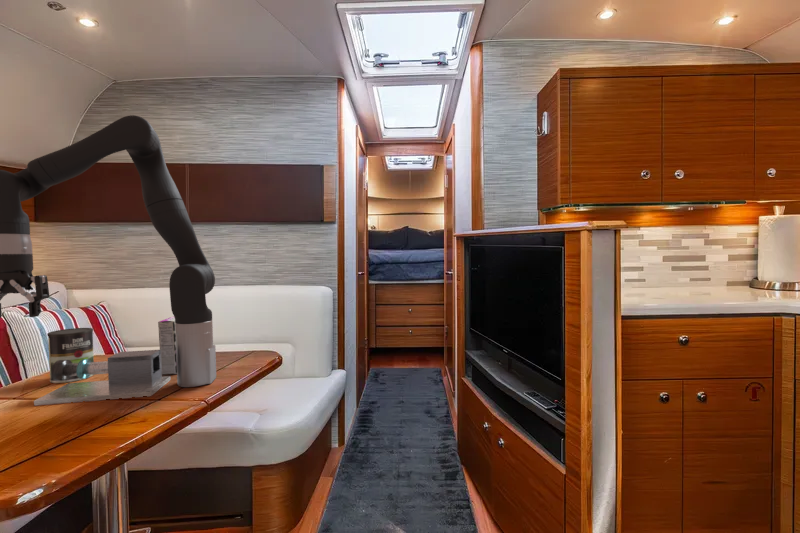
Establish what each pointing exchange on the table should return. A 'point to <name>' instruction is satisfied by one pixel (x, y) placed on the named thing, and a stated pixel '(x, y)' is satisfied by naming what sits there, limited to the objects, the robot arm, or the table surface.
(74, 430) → the table surface
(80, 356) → the coffee can
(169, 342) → the candy bar box
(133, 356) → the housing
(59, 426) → the table surface
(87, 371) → the shaft
